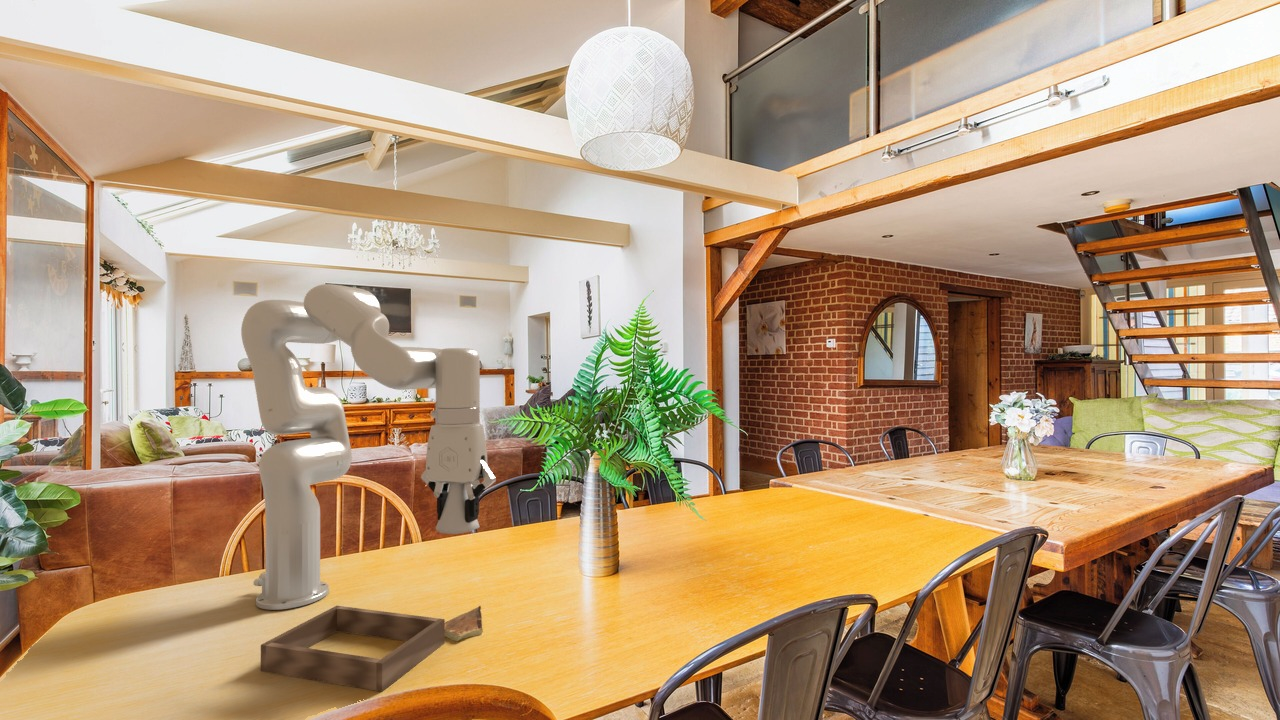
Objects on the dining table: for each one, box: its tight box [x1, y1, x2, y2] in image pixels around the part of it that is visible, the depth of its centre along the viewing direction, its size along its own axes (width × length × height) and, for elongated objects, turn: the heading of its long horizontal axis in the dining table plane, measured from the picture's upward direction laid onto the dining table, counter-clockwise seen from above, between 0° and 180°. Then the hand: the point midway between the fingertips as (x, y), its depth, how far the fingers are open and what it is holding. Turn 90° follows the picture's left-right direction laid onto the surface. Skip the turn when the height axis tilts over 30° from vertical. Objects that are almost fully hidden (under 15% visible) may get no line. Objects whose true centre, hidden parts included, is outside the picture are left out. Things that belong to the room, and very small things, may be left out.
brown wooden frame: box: [260, 605, 446, 693], centre depth 93 cm, size 22×15×4 cm
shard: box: [445, 605, 484, 642], centre depth 103 cm, size 11×8×2 cm
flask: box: [435, 483, 480, 535], centre depth 103 cm, size 7×7×10 cm
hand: (457, 518), depth 103 cm, fingers closed on flask, 4 cm apart
